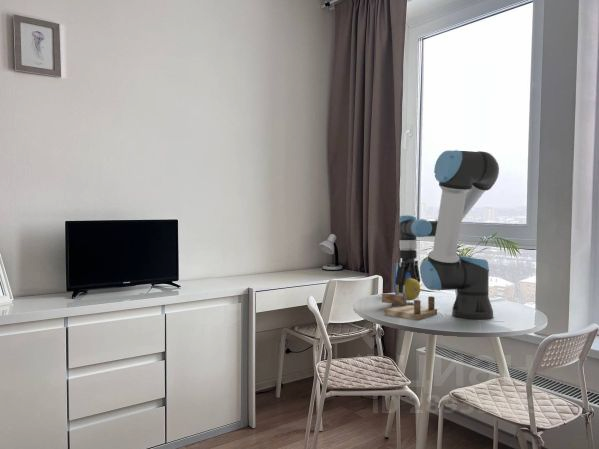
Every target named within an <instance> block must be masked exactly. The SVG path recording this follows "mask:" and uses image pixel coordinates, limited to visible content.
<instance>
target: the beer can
mask: <svg viewBox="0 0 599 449" xmlns="http://www.w3.org/2000/svg"><path fill="white" fill-rule="evenodd" d="M397 270H398V262H397V263H396V265H395V266H394V294H396V295H398V293H397V291H396V287H397V285H396V283H395V282H396V276H397ZM406 278H411V276H410V273H409V272H407V275H406Z"/></svg>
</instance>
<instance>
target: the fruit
mask: <svg viewBox="0 0 599 449" xmlns="http://www.w3.org/2000/svg"><path fill="white" fill-rule="evenodd" d="M404 285H405V293H406V301H414V300H417V297H418V298H419V295H420V292H421V284H420V283H419V282H418V281H417V280H415V279H412V278H406V279H405V282H404ZM396 291H397V293H398V295H399V285H397V287H396Z"/></svg>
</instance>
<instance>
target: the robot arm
mask: <svg viewBox="0 0 599 449" xmlns="http://www.w3.org/2000/svg"><path fill="white" fill-rule="evenodd" d="M433 171H434V172H433V173H434V178H435V180H436V181H437V182H438V187H439V188H440V189H441V196H440V203H439V210H438V216H437V219H436V218H435V219H433V218H432V219H431V218H430V219H429V218H428V219H426V218H418V219H417V216H416V215H414V214H413V215H411V214H410V215H407V214H406V215H401V216H399V220H398V222H399V223H398V225H399V226H398V228H399V229H398V230H399V235H398V237H399V241H398V242H399V243H398V244H399V249H400V250H399V252H398V253H399V259H401V261H397V263H398V270H397V276H396V282H395V281H394V284H395V283H396V285H399V295H403V293H405V285H404V282H405V279H406V275H407V272H409V273H410V276H411V278H412V279H415V280H417V281H418V282H419V284H420V282H421V281H422V282H421V283H423V285H424V287H426V289H428V290H430V291H439V292H440V291H445V290H446V291H450V290H456V297H455V300H454V304H453V306H452V316H455V317H458V318H463V319H470V320H488V319H493V318H494V309H493V306H492V304H491V301H490V297H489V284H490V283H489V280H490V279H489V278H490V277H489V276H490V274H489V272H490V267H489V262H488V260H487V259H485V258H478V257H473V256H472V257H471V256H464V255H458V254H457V252H458V246H459V240H460V233H461V229H462V222H463V221H464V219H465V217H466V216H467V215H468V213H469V212H470V211H471V210H472V209H473V207H474V205H476V203H477V202H478V200H480V198H481V197H482V195H483V194H484V193H485V192H487V191H489V190H491V189H492V188H493V186H494V185H495V184H496V182H497V180H498V178H499V174H500V166H499V163H498V161H497V159H496V158H495V156H494V155H493V154H492V153H490V152H488V151H485V150H471V149H469V150H468V149H467V150H466V149H447V150H444V151H443V152H442V153H441V154H440V155H439V156H438V158H437V159H436V161H435V164H434V170H433ZM417 237H418V238H425V237H426V238H427V237H428V238H429V237H430V238H431V237H434V242H433V250H431V251H430V252H428V255H427V259H424V260H423V261H421V263H420V266H419V262H418V260H415V259H417V258H418V257H417V250H416V249H417V246H418V244H417ZM417 298H419V296H418V297H417ZM417 298H416V299H417Z"/></svg>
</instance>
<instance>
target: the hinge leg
mask: <svg viewBox="0 0 599 449" xmlns="http://www.w3.org/2000/svg"><path fill="white" fill-rule="evenodd" d="M381 303H385V304H386V303H387V304H391V305H392V304H399V305H407V300H406V293H403V295H396V294H395V293H386V292H385V293H381Z"/></svg>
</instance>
